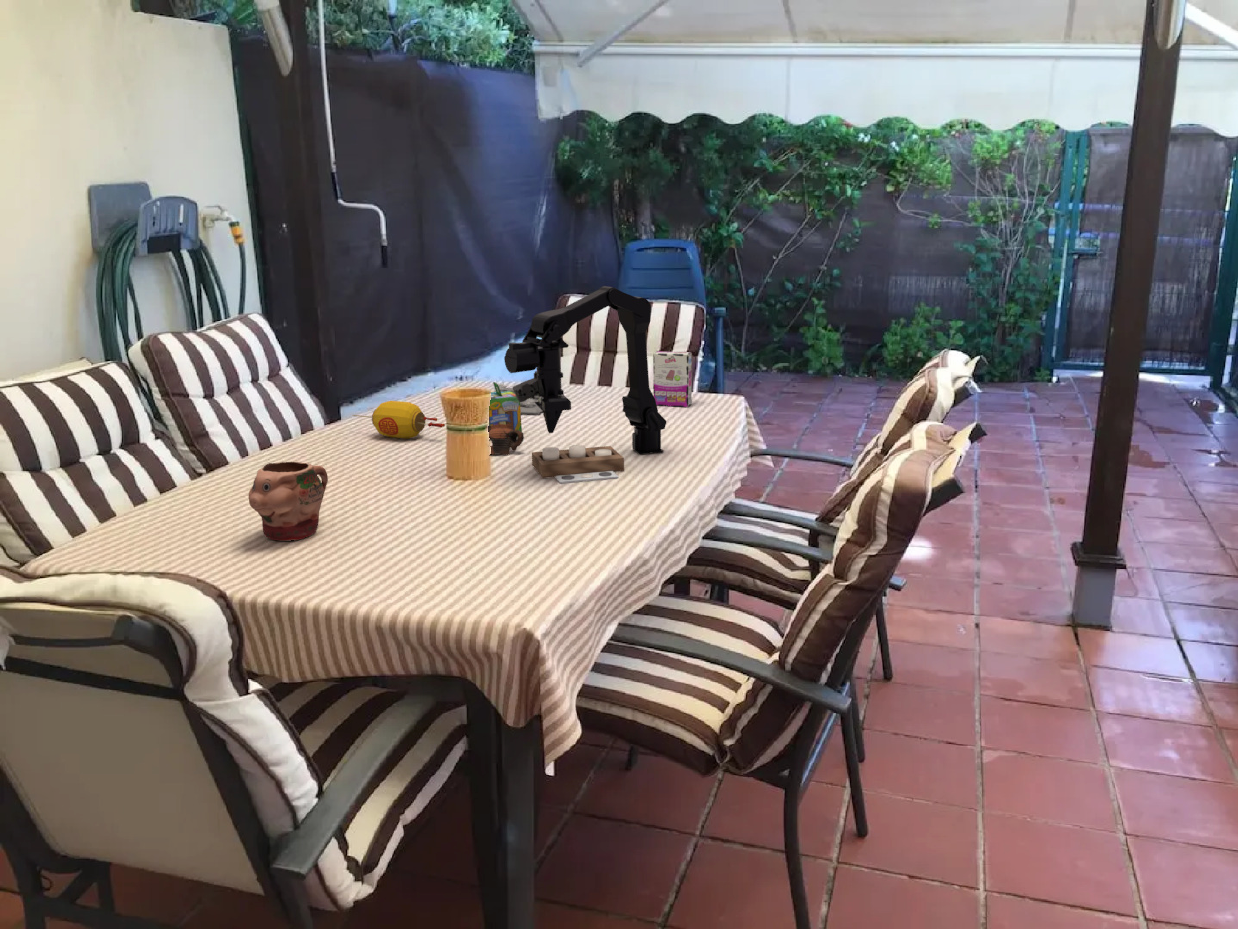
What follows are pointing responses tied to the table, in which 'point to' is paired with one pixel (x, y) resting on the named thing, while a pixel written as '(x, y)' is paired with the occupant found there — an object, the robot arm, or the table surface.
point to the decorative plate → (525, 403)
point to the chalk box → (504, 409)
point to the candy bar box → (672, 378)
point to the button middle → (577, 451)
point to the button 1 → (550, 453)
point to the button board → (578, 463)
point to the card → (586, 477)
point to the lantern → (400, 419)
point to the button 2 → (602, 452)
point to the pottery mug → (504, 438)
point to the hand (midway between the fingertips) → (550, 432)
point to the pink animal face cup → (288, 499)
